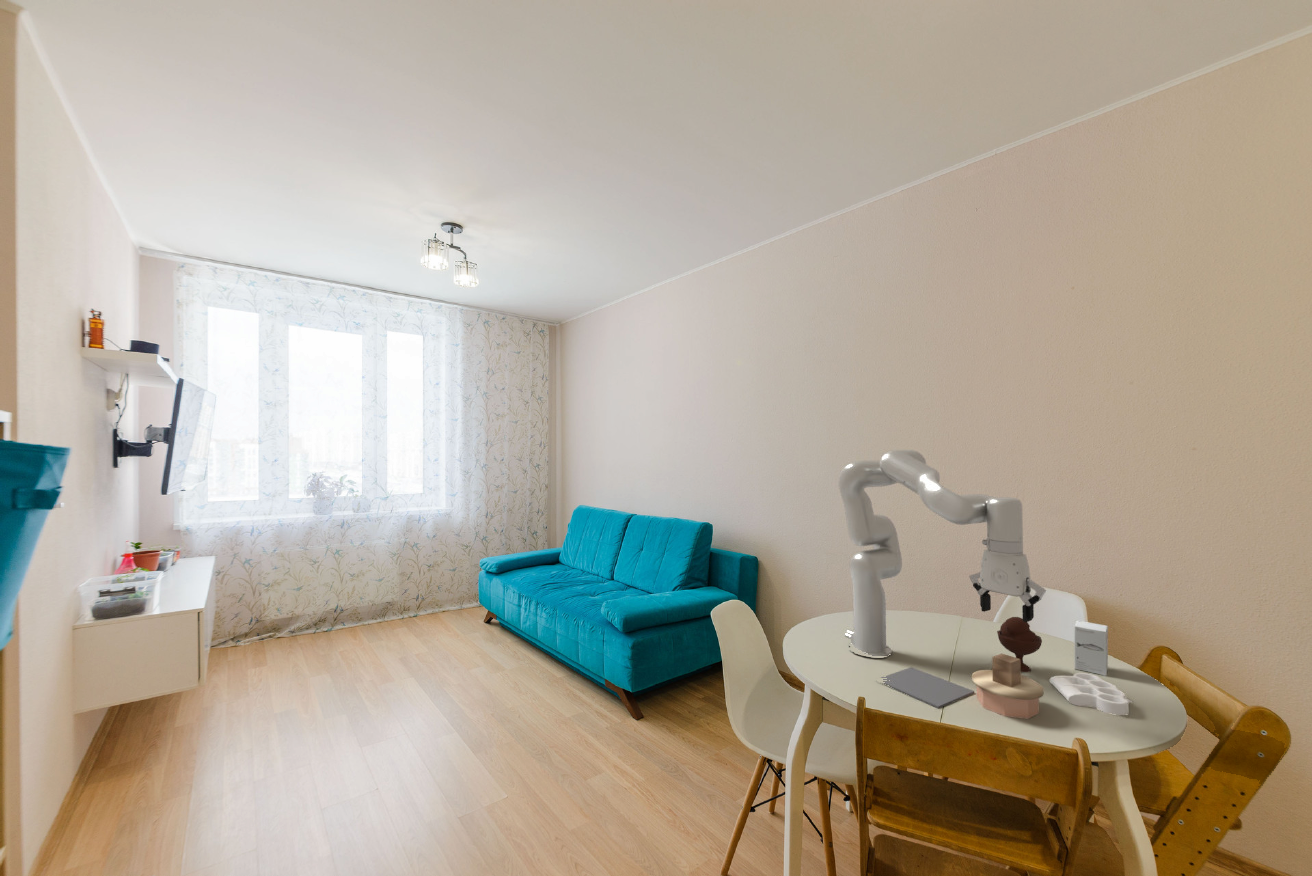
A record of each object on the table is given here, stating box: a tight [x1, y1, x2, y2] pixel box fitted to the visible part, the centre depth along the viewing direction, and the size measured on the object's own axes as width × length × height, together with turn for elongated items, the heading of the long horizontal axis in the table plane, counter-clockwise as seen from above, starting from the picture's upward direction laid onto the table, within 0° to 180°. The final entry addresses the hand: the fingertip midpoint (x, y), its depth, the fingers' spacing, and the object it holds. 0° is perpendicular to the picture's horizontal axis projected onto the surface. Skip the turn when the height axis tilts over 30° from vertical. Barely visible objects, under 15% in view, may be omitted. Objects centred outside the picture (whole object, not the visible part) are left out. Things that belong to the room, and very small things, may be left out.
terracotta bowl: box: [976, 686, 1040, 719], centre depth 135 cm, size 12×12×5 cm
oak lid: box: [971, 653, 1045, 700], centre depth 135 cm, size 15×15×7 cm
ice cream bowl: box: [996, 616, 1043, 673], centre depth 157 cm, size 11×11×15 cm
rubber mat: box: [880, 666, 975, 709], centre depth 145 cm, size 18×16×1 cm
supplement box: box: [1073, 620, 1109, 677], centre depth 156 cm, size 7×7×13 cm
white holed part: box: [1049, 672, 1133, 716], centre depth 139 cm, size 3×18×15 cm
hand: (1006, 615), depth 135 cm, fingers open, 9 cm apart
